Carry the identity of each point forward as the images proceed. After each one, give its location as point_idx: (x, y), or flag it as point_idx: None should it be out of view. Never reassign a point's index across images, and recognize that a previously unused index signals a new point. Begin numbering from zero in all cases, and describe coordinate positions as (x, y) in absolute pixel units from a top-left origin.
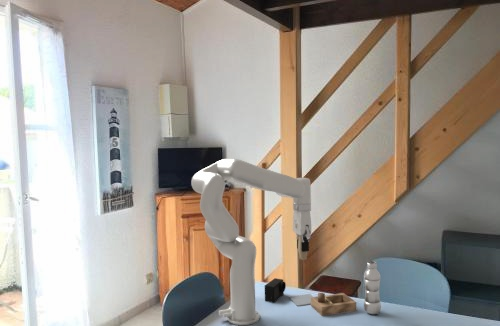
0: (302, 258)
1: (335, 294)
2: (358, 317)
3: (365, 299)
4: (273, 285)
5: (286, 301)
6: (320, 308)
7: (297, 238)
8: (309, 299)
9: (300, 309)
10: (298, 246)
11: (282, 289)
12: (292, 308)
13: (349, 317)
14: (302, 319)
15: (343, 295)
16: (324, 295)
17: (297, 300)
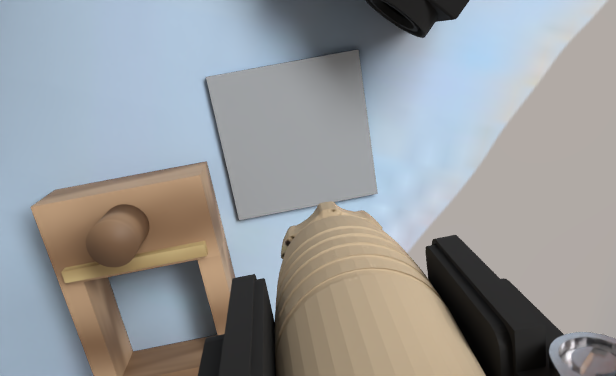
0: (285, 236)
1: None
2: (36, 360)
3: None
4: None
5: (295, 21)
6: (57, 198)
7: (573, 355)
8: (288, 172)
9: (157, 86)
10: (366, 267)
11: (372, 1)
12: (176, 38)
13: (36, 320)
14: (5, 66)
15: None
16: (99, 260)
17: (284, 94)
